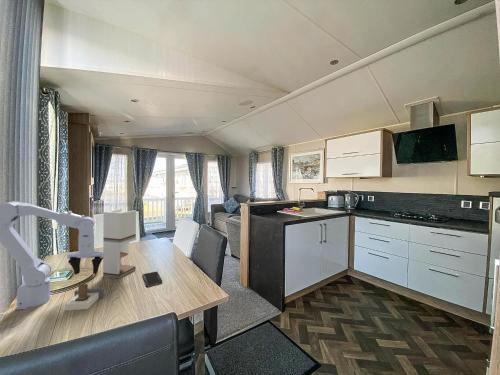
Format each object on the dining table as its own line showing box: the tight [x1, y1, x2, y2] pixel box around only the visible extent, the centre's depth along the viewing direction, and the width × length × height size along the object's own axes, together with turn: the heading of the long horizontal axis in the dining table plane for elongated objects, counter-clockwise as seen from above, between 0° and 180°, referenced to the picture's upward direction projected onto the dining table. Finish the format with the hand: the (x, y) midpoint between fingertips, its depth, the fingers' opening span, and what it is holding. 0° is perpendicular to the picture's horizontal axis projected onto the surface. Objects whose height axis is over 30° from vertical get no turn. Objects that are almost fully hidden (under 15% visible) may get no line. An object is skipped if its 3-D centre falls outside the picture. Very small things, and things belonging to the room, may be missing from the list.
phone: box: [142, 271, 163, 288], centre depth 113 cm, size 8×1×15 cm
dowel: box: [77, 283, 89, 301], centre depth 88 cm, size 3×3×8 cm
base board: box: [73, 287, 105, 299], centre depth 85 cm, size 11×17×4 cm, turn 9°
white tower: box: [102, 209, 137, 279], centre depth 119 cm, size 11×11×35 cm
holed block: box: [64, 293, 100, 311], centre depth 88 cm, size 8×8×2 cm
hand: (86, 273), depth 97 cm, fingers open, 7 cm apart
